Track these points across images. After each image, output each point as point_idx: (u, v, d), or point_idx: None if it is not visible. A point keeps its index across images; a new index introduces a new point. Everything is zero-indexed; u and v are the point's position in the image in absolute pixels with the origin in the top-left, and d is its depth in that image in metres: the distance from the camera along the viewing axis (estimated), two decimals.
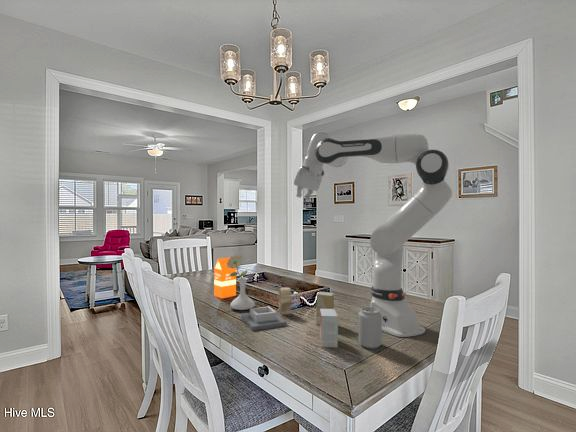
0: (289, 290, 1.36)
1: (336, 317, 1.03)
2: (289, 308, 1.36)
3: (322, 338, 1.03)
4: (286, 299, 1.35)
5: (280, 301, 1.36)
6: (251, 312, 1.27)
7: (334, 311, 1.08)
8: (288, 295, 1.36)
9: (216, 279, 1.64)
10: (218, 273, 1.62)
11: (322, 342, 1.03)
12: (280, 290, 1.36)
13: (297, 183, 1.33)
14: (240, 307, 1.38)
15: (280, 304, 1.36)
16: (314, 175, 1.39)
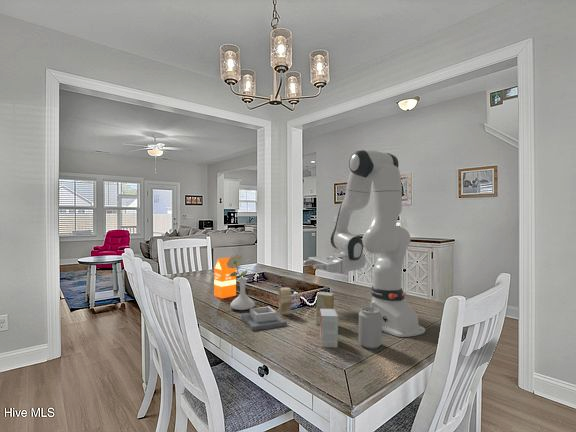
0: (289, 290, 1.36)
1: (336, 317, 1.03)
2: (289, 308, 1.36)
3: (322, 338, 1.03)
4: (286, 299, 1.35)
5: (280, 301, 1.36)
6: (251, 312, 1.27)
7: (334, 311, 1.08)
8: (288, 295, 1.36)
9: (216, 279, 1.64)
10: (219, 273, 1.62)
11: (322, 342, 1.03)
12: (280, 290, 1.36)
13: None
14: (240, 307, 1.38)
15: (280, 304, 1.36)
16: None
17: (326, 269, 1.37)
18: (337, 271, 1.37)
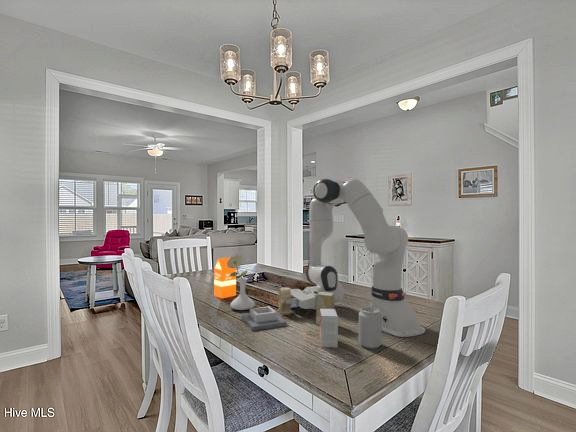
0: (289, 290, 1.36)
1: (336, 317, 1.03)
2: (289, 308, 1.36)
3: (322, 338, 1.03)
4: None
5: (280, 301, 1.36)
6: (251, 312, 1.27)
7: (334, 311, 1.08)
8: (288, 295, 1.36)
9: (216, 279, 1.64)
10: (219, 273, 1.62)
11: (322, 342, 1.03)
12: (280, 290, 1.36)
13: None
14: (240, 307, 1.38)
15: (280, 304, 1.36)
16: (304, 290, 1.42)
17: (299, 305, 1.32)
18: (311, 307, 1.31)
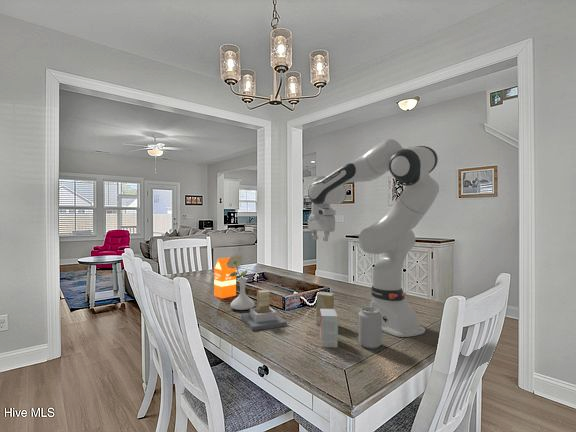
0: (268, 293, 1.26)
1: (336, 317, 1.03)
2: None
3: (322, 338, 1.03)
4: (264, 302, 1.25)
5: (258, 304, 1.26)
6: (251, 312, 1.27)
7: (334, 311, 1.08)
8: (266, 298, 1.25)
9: (216, 279, 1.64)
10: (218, 273, 1.62)
11: (322, 342, 1.03)
12: (258, 293, 1.26)
13: None
14: (240, 307, 1.38)
15: (258, 308, 1.26)
16: (314, 216, 1.48)
17: (330, 231, 1.42)
18: (334, 222, 1.40)
